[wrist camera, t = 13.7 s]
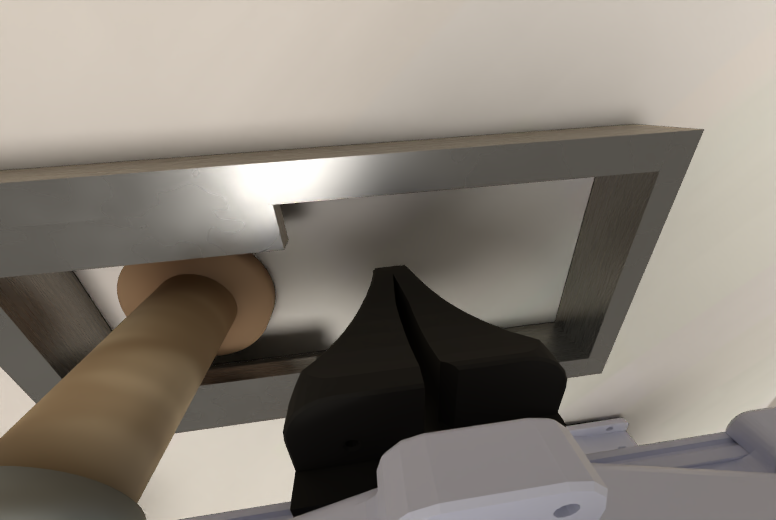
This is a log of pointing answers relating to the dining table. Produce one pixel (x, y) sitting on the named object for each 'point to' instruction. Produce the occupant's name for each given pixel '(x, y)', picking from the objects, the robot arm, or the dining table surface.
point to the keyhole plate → (268, 233)
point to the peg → (131, 390)
